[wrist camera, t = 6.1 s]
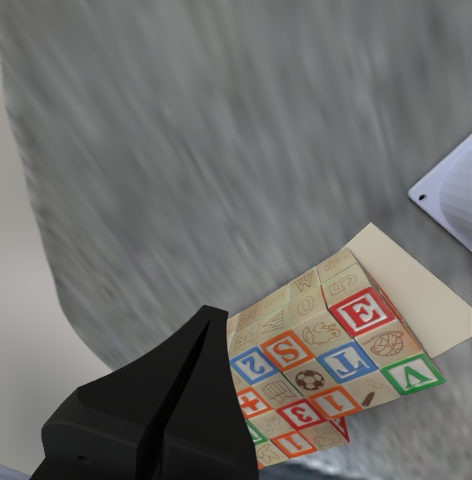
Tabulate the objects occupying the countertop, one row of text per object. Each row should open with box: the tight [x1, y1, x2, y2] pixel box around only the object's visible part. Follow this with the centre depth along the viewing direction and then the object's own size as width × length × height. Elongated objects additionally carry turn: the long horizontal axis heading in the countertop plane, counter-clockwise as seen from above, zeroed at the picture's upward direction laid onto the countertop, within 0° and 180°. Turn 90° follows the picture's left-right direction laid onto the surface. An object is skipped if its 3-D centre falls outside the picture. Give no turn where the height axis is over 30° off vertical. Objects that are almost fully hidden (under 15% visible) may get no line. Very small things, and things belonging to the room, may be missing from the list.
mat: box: [338, 223, 472, 359], centre depth 25 cm, size 14×26×1 cm, turn 143°
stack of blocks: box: [227, 247, 446, 469], centre depth 22 cm, size 21×6×12 cm
